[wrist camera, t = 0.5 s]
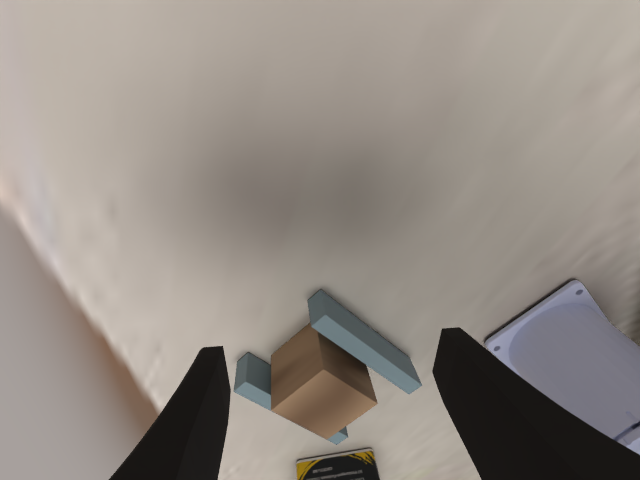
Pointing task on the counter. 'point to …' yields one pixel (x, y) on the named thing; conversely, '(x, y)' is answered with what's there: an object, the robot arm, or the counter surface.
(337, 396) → the walnut block
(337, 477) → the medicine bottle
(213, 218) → the counter surface
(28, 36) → the counter surface
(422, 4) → the counter surface
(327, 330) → the chute
